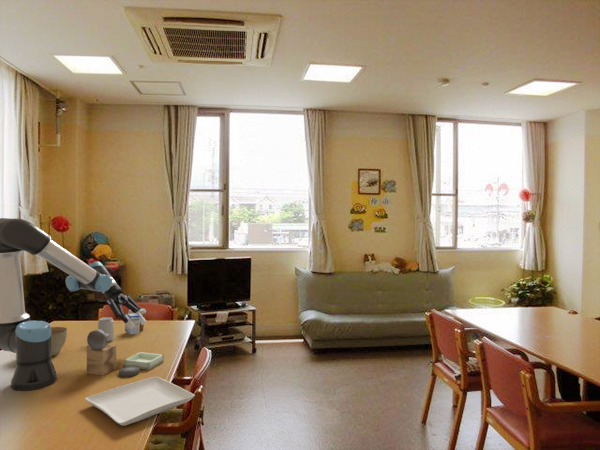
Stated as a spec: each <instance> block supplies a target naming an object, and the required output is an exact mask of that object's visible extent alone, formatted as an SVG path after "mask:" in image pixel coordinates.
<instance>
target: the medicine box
mask: <svg viewBox="0 0 600 450" xmlns="http://www.w3.org/2000/svg"><path fill="white" fill-rule="evenodd" d="M124 314H125V315H127V316H128V317H129V319H130V320H131V321H132V322H133V324H134V326H133V328H132V329H129V327H128V326H127V325H126V323H124V332H125V333H127V334H129V335H137V334H140V332H141V331H140V315H138V314H136V313H128V312H125V313H124ZM125 315H124V316H125Z"/></svg>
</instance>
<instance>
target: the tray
mask: <svg viewBox="0 0 600 450" xmlns="http://www.w3.org/2000/svg"><path fill="white" fill-rule="evenodd" d="M164 359H165V358H164V354H159V353H152V352H151V353H150V352H143V351H140V352H137V353H135V354H133V355H131V356H130V357H127V358H125V359H124V360H123V368H125V367H139V370H140V369H141V370H147V371H148V370H151V369H153V368H154V367H156V366H158V365H160V364H162V363H163V362H164V361H165V360H164Z"/></svg>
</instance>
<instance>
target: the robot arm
mask: <svg viewBox="0 0 600 450" xmlns="http://www.w3.org/2000/svg"><path fill="white" fill-rule="evenodd" d="M24 251H25V252H27V253H29V254H30V255H32V256H39V258H40V257H41V259H43V260H45V261H46V262H47V263H50V264H51V265H53V266H54V267H57V268H58V269H59V270H61V271H62V272H64V273H66V275H67V274H68V276H66V278H65V285H66V288H67V289H68V291H70V292H76V291H79V290H87V291H88V290H89V291H93V292H99V293H100V292H101V293H102V294H103V295H104V296H105V297H106V299H107V300H106V302H105V304H107V305H108V307H109V308H110V310H111V311H112V313H113V315H114V317H115V318H116V319H118V320H122V322H123V323H124V324H125V323H126V325H127V326H128V327H129V329H132V328H133V326H134V324H133V322H132V321H131V320H130V319H129V317H128V316H127V315H125V314H126V313H125V312H124V309H123V308H124V307H125V308H127V309H128V311H129V310H131V311H132V312H133V313H136V314H138V315H140V323H141V325H143V324H144V325H145V324H146V323H147V320H146V319H144V317H143V316H142V314H141V313H140V312H139V310H140V309H141V308H142V307H140V305H139V304H137V302H135V301H134V299H133V298H132V297H131V295H130V294H127V295H125V294H123V289H122V288H121V287H120V285H119V284H118V283H117V282H116V280H115V278H113V277H112V275H111V274H110V272H109V271H108V270H107V267H105V266H104V265H103V263H102V262H100V261H94V262H92V263H90V264H87V263H86V262H84V261H83V260H81V259H80V258H78V257H77V256H75V255H74V254H72V253H71V252H70V251H68V249H65V248H64V247H62V246H61V245H59V244H58V243H57V242H55V241H54V240H52V237H51V235H49V234H48V233H47V232H46V231H44V230H43V229H41V228H40V227H38V226H37V225H35V224H34V223H32V222H30V221H28V220H26V219H24V218H23V219H22V218H7V217H6V218H5V217H4V218H3V217H2V218H1V217H0V350H2V351H5V352H10V353H14V354H16V355H15V359H16V360H15V362H16V365H15V369H14V372H13V375H12V378H11V382H10V388H11V389H13V390H14V391H30V390H36V389H40V388H44V387H47V386H49V385H51V384H53V383H55V382H56V380H57V379H58V378H57V377H58V376H57V375H58V374H57V371H56V368H55V365H54V363H53V361H52V356H51V335H52V332H51V327H52V326H51V325H50V323H49V322H47V321H45V320H31V315H30V314H29V313H27V311H26V307H25V298H24V297H25V296H24V284H23V283H24V282H23V271H22V260H21V255H22V253H23V252H24Z"/></svg>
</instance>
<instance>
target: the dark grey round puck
mask: <svg viewBox="0 0 600 450" xmlns="http://www.w3.org/2000/svg"><path fill="white" fill-rule="evenodd" d="M139 374H140V369H139V367H123V368H121V369H119V370H118V376H119V377H121V378H131V377H133V376H137V375H139Z"/></svg>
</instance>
